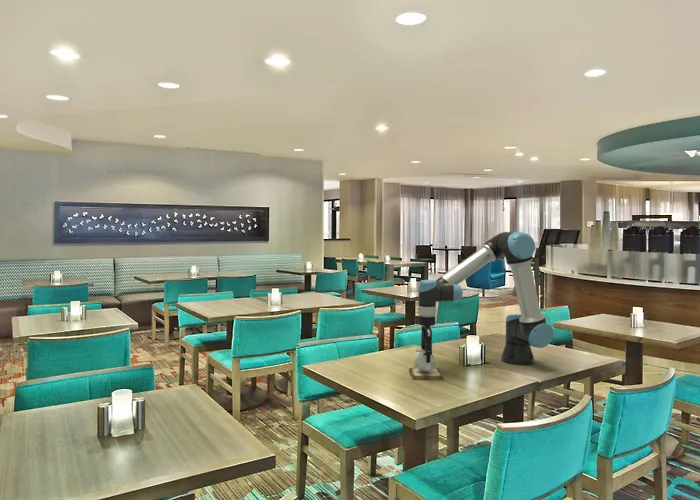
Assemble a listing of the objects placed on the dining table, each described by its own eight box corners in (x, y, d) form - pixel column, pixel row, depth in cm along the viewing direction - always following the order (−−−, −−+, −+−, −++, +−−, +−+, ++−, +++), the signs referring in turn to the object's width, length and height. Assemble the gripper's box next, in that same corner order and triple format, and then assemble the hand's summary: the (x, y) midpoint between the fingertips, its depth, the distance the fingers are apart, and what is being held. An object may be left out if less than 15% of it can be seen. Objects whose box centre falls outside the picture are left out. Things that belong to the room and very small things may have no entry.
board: (438, 371, 228) (438, 367, 228) (443, 379, 215) (443, 376, 215) (409, 371, 228) (409, 367, 228) (413, 379, 215) (413, 375, 215)
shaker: (422, 365, 239) (422, 348, 238) (423, 367, 235) (424, 350, 234) (414, 365, 239) (414, 348, 238) (415, 367, 235) (415, 350, 234)
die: (440, 370, 223) (429, 350, 227) (439, 365, 215) (428, 344, 220) (423, 378, 223) (412, 358, 227) (421, 374, 215) (410, 353, 219)
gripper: (415, 311, 231) (414, 360, 232) (421, 319, 210) (420, 373, 211) (431, 311, 231) (430, 360, 232) (439, 319, 210) (438, 373, 211)
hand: (425, 366), depth 221 cm, fingers closed on die, 8 cm apart
